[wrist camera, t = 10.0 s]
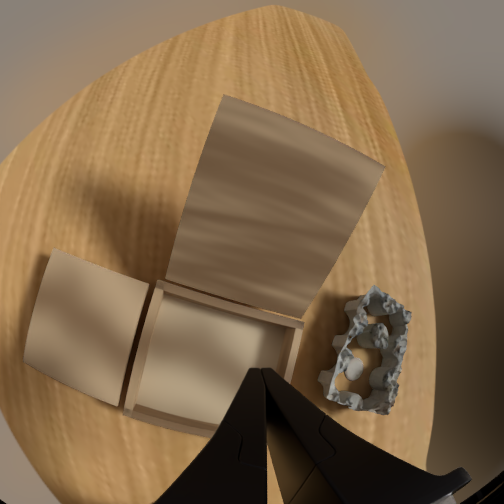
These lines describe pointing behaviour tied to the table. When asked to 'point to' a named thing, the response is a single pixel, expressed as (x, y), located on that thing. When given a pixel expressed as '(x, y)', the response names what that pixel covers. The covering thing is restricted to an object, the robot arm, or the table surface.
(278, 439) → the robot arm
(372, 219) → the table surface
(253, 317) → the carton
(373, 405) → the egg carton
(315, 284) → the flap
